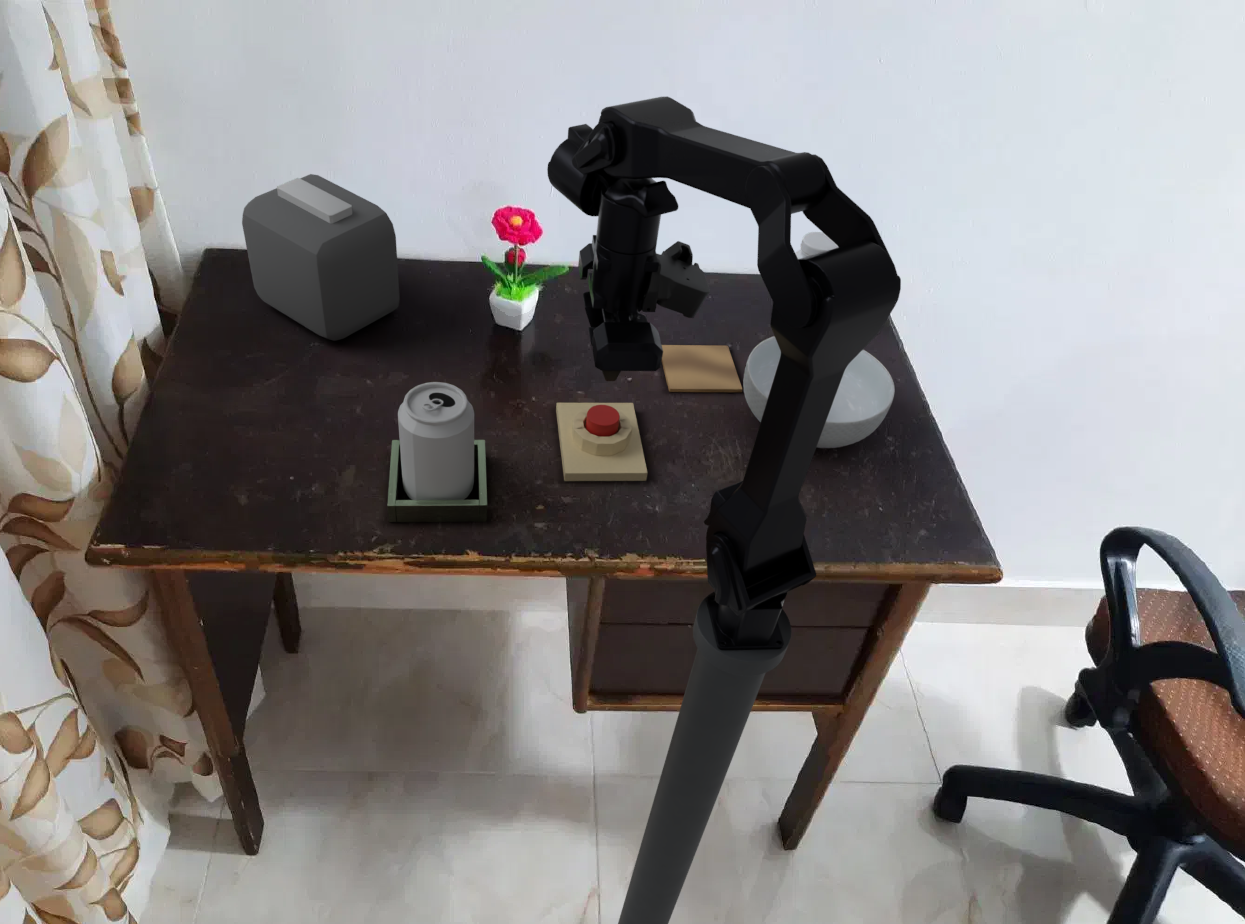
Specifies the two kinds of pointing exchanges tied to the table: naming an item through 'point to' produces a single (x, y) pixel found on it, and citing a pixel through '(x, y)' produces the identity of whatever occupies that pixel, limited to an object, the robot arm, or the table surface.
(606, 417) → the stop button
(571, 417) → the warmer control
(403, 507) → the grey-green square frame
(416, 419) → the can
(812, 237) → the pill bottle
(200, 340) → the table surface
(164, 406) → the table surface
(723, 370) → the cork coaster
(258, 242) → the alarm clock
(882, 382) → the cereal bowl
